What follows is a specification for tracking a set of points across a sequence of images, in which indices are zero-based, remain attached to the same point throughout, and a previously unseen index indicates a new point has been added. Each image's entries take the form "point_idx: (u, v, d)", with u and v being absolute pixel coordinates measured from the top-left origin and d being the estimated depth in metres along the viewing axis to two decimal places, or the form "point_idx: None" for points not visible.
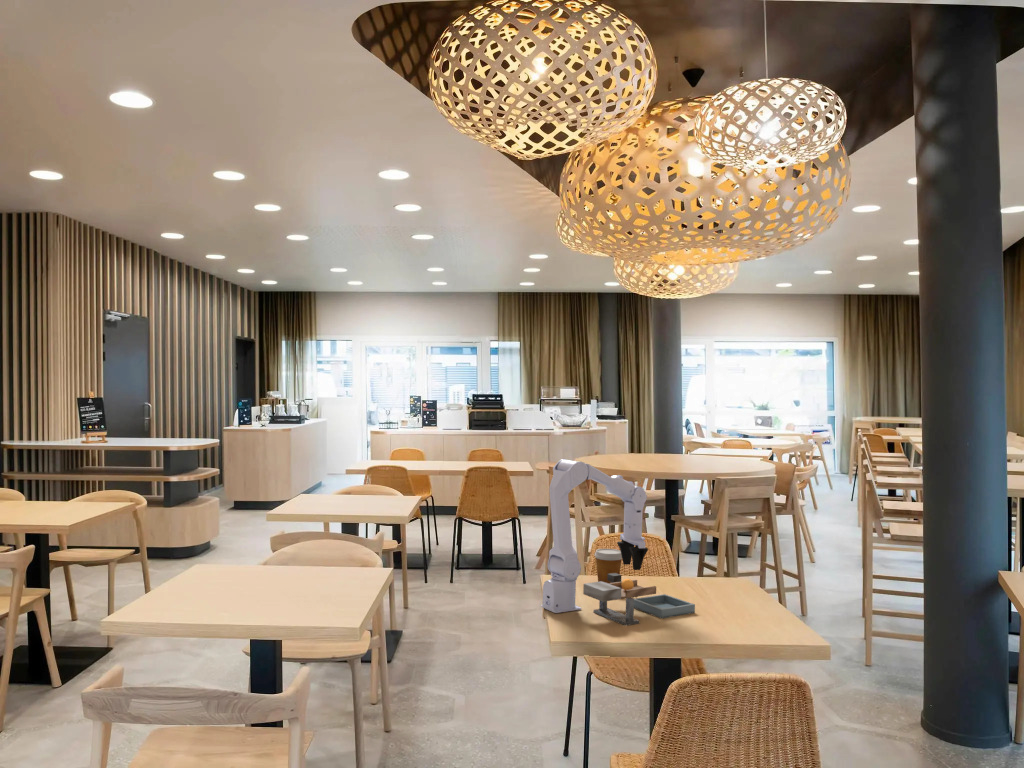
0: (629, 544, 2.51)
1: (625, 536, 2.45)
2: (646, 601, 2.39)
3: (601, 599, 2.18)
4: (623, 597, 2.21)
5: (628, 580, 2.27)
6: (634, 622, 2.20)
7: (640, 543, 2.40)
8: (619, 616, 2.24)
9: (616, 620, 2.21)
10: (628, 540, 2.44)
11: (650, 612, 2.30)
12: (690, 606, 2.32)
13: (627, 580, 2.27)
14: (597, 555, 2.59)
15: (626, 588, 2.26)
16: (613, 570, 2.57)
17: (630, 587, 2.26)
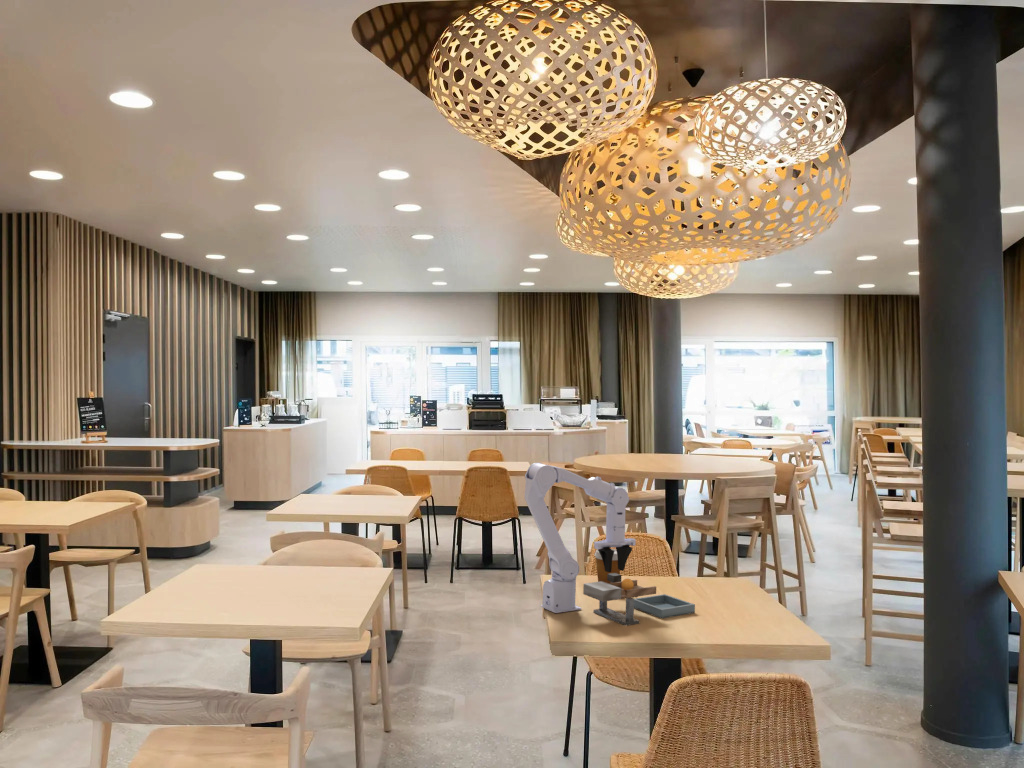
0: (622, 549, 2.40)
1: None
2: (646, 601, 2.39)
3: (601, 599, 2.18)
4: (623, 597, 2.21)
5: (628, 580, 2.27)
6: (634, 622, 2.20)
7: (594, 543, 2.36)
8: (619, 616, 2.24)
9: (616, 620, 2.21)
10: None
11: (650, 612, 2.30)
12: (690, 606, 2.32)
13: (627, 580, 2.27)
14: (597, 555, 2.59)
15: (626, 588, 2.26)
16: (613, 570, 2.57)
17: (630, 587, 2.26)
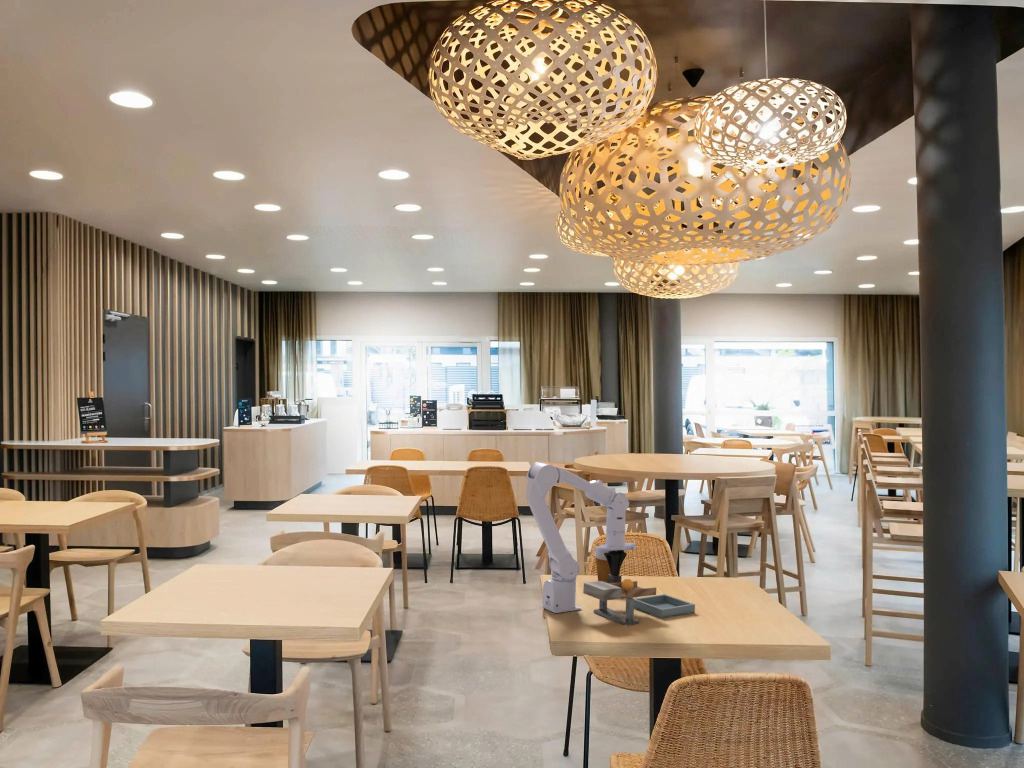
0: None
1: None
2: (646, 601, 2.39)
3: (601, 598, 2.18)
4: (623, 597, 2.21)
5: (628, 580, 2.27)
6: (634, 622, 2.20)
7: (595, 548, 2.36)
8: (619, 616, 2.24)
9: (616, 620, 2.21)
10: None
11: (650, 612, 2.30)
12: (690, 606, 2.32)
13: (627, 580, 2.27)
14: (597, 555, 2.59)
15: (626, 588, 2.26)
16: None
17: (630, 587, 2.26)
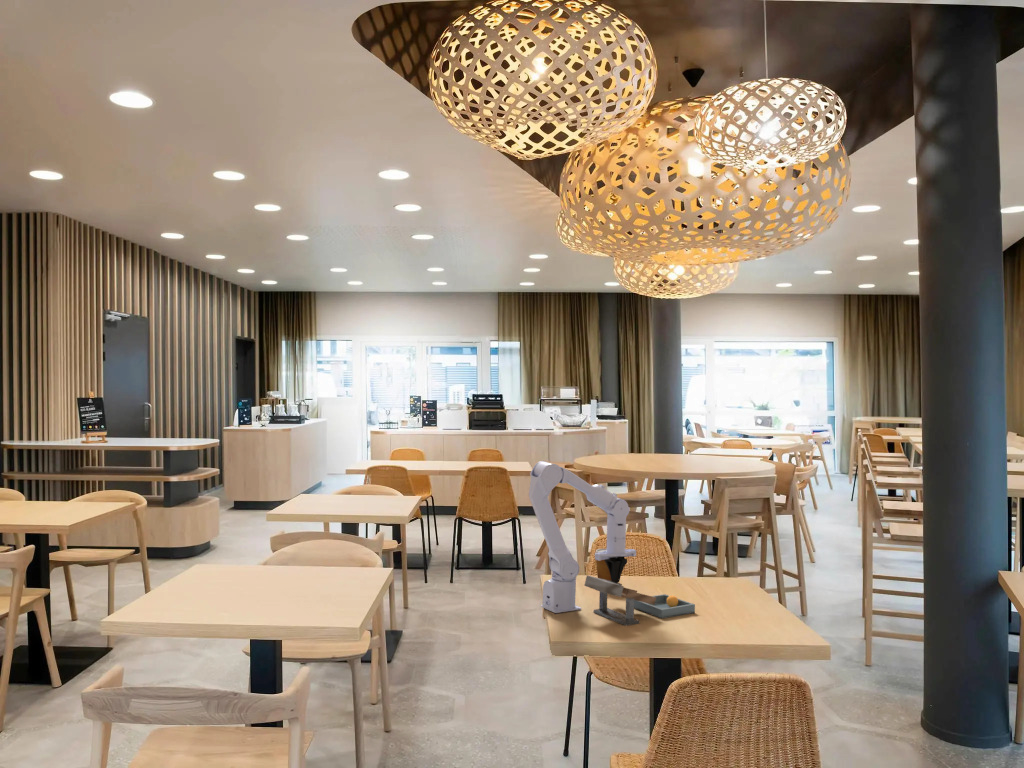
0: (617, 561, 2.39)
1: None
2: None
3: (602, 590, 2.18)
4: (623, 596, 2.21)
5: (670, 604, 2.35)
6: (634, 622, 2.20)
7: (595, 554, 2.36)
8: (619, 616, 2.24)
9: (616, 620, 2.21)
10: None
11: (650, 612, 2.30)
12: (690, 606, 2.32)
13: (670, 605, 2.35)
14: None
15: (676, 605, 2.36)
16: None
17: (677, 603, 2.36)
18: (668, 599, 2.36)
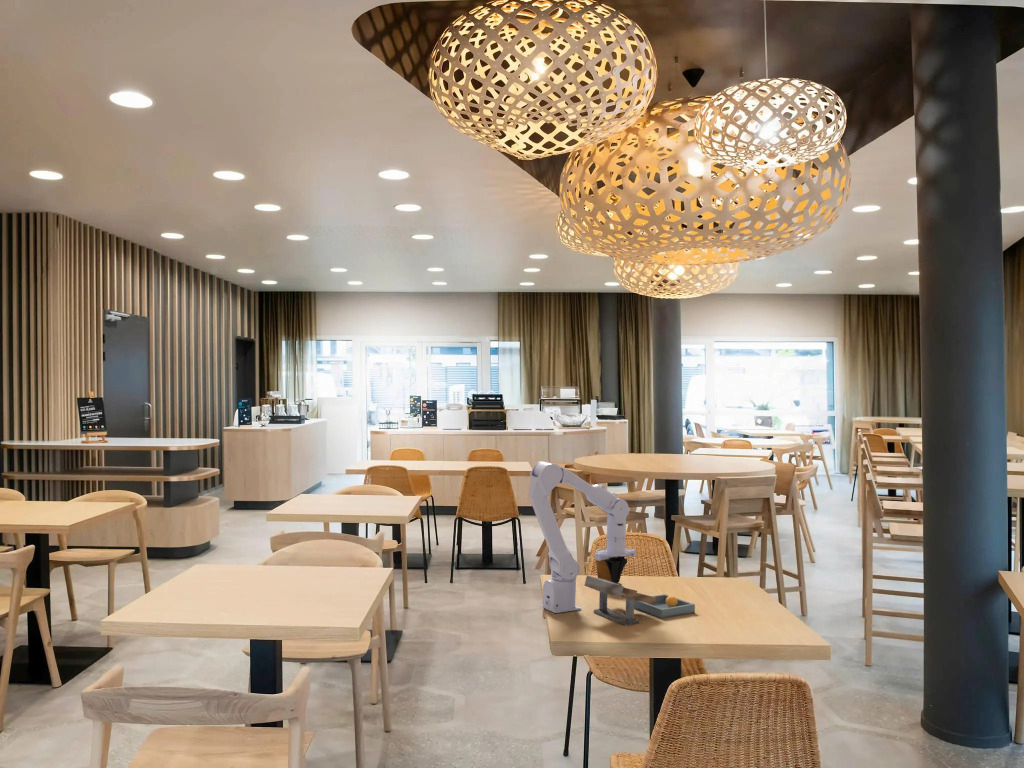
0: (617, 561, 2.39)
1: None
2: None
3: (602, 590, 2.18)
4: (623, 596, 2.21)
5: (670, 605, 2.35)
6: (634, 622, 2.20)
7: (595, 554, 2.36)
8: (619, 616, 2.24)
9: (616, 620, 2.21)
10: None
11: (650, 612, 2.30)
12: (690, 606, 2.32)
13: (670, 606, 2.35)
14: None
15: (676, 604, 2.36)
16: None
17: (676, 603, 2.35)
18: (667, 600, 2.36)
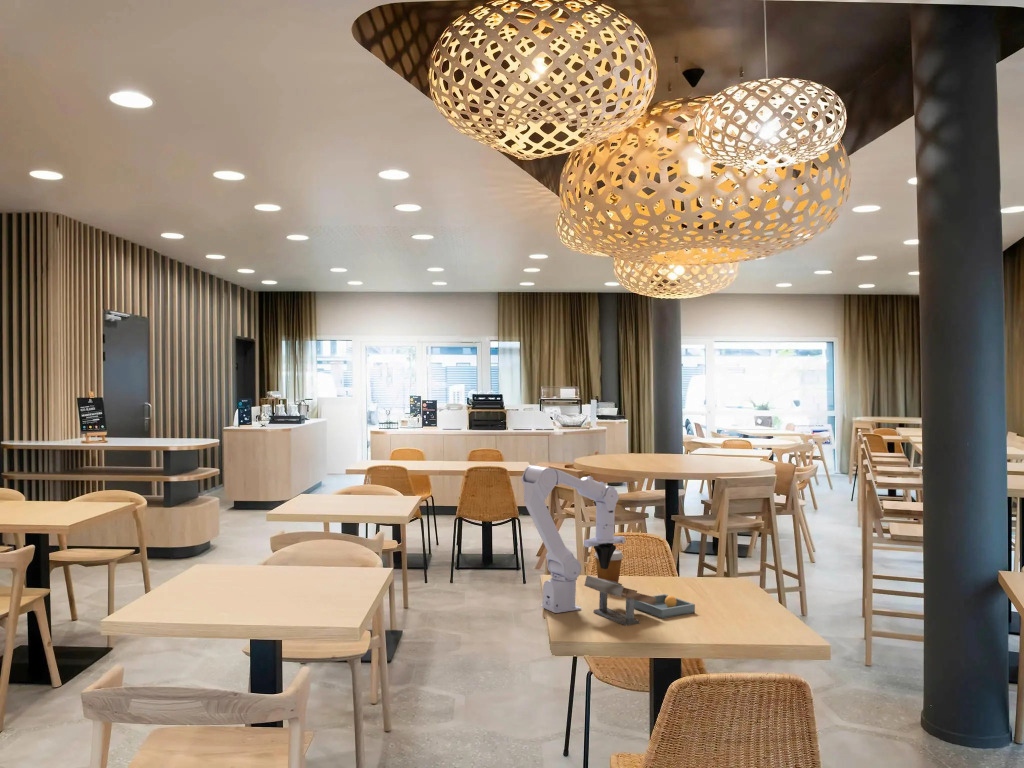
0: None
1: None
2: None
3: (602, 590, 2.18)
4: (623, 596, 2.21)
5: (669, 606, 2.35)
6: (634, 622, 2.20)
7: (584, 541, 2.39)
8: (619, 616, 2.24)
9: (616, 620, 2.21)
10: None
11: (650, 612, 2.30)
12: (690, 606, 2.32)
13: (669, 606, 2.35)
14: (597, 555, 2.59)
15: None
16: (613, 570, 2.57)
17: (675, 602, 2.35)
18: (666, 601, 2.36)
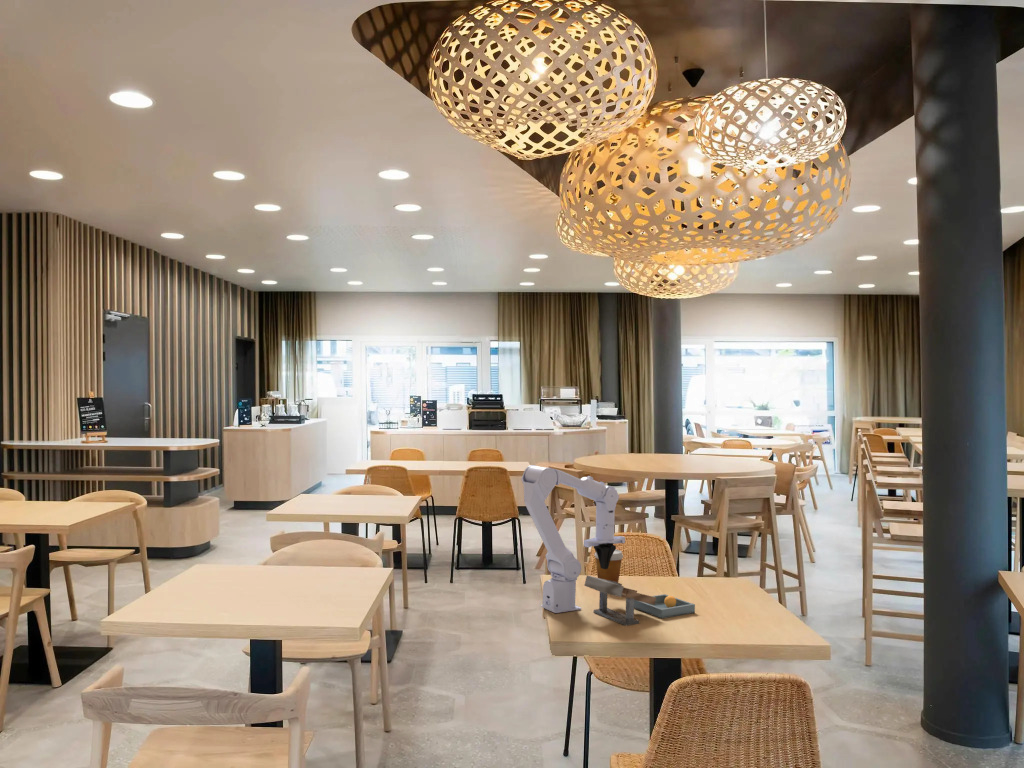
0: None
1: None
2: None
3: (602, 590, 2.18)
4: (623, 596, 2.21)
5: (669, 606, 2.35)
6: (634, 622, 2.20)
7: (584, 541, 2.39)
8: (619, 616, 2.24)
9: (616, 620, 2.21)
10: None
11: (650, 612, 2.30)
12: (690, 606, 2.32)
13: (669, 607, 2.35)
14: (597, 555, 2.59)
15: (675, 603, 2.36)
16: (613, 570, 2.57)
17: (675, 602, 2.35)
18: (665, 602, 2.35)
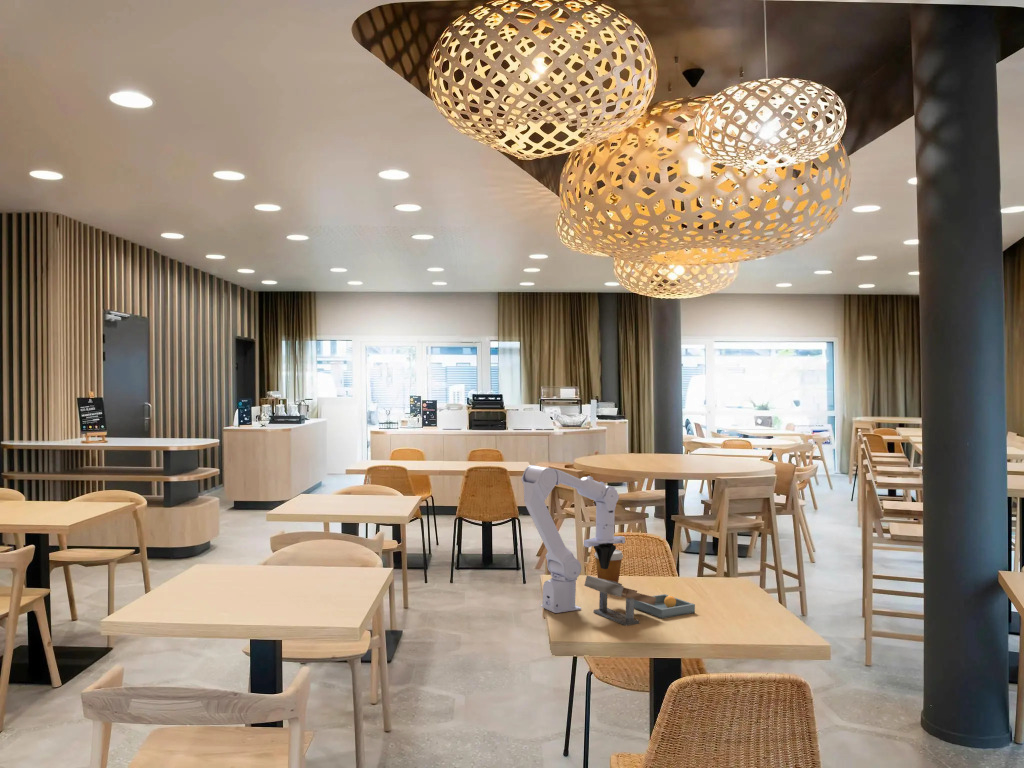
0: None
1: None
2: None
3: (602, 590, 2.18)
4: (623, 596, 2.21)
5: (669, 606, 2.35)
6: (634, 622, 2.20)
7: (584, 541, 2.39)
8: (619, 616, 2.24)
9: (616, 620, 2.21)
10: None
11: (650, 612, 2.30)
12: (690, 606, 2.32)
13: (669, 607, 2.35)
14: (597, 555, 2.59)
15: (675, 603, 2.36)
16: (613, 570, 2.57)
17: (675, 602, 2.35)
18: (665, 602, 2.35)
